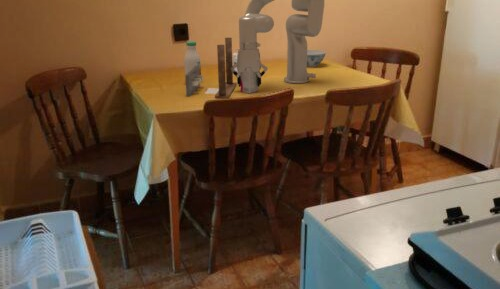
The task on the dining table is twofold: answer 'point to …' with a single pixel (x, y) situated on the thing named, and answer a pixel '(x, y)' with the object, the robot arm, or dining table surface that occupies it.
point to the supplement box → (249, 81)
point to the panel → (192, 80)
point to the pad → (212, 91)
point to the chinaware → (314, 57)
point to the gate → (224, 82)
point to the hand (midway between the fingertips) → (249, 85)
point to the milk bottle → (191, 58)
